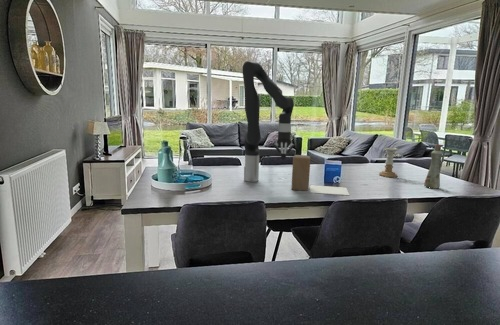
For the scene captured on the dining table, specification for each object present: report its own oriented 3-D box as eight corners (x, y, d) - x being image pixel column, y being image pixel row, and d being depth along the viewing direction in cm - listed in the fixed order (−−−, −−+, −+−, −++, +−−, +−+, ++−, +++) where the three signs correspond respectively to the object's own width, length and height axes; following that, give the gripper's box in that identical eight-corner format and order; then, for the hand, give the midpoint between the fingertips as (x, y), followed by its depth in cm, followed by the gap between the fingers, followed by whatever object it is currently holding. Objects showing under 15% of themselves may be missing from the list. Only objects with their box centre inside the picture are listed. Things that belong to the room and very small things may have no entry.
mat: (310, 192, 188) (310, 192, 188) (309, 185, 204) (310, 185, 204) (349, 195, 185) (349, 194, 185) (346, 188, 200) (346, 187, 200)
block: (308, 191, 191) (310, 158, 187) (291, 190, 193) (292, 157, 189) (308, 187, 201) (310, 155, 197) (292, 185, 203) (294, 154, 199)
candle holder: (387, 173, 245) (390, 146, 242) (400, 176, 235) (404, 149, 231) (375, 174, 240) (378, 147, 236) (388, 178, 229) (391, 150, 225)
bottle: (431, 189, 202) (437, 145, 196) (420, 186, 210) (426, 143, 205) (443, 189, 204) (449, 145, 199) (431, 185, 213) (437, 143, 207)
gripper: (272, 131, 189) (271, 160, 193) (295, 131, 187) (294, 161, 191) (273, 129, 197) (273, 158, 200) (295, 130, 195) (294, 158, 198)
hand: (283, 159), depth 195 cm, fingers closed
